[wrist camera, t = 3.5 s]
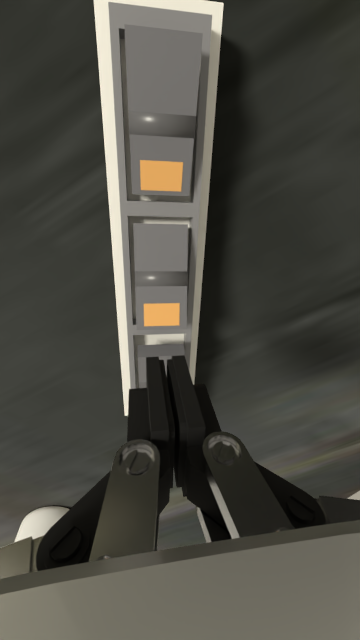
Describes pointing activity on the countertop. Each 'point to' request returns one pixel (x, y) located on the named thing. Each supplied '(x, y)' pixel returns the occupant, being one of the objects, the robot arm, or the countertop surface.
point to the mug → (40, 522)
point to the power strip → (126, 208)
